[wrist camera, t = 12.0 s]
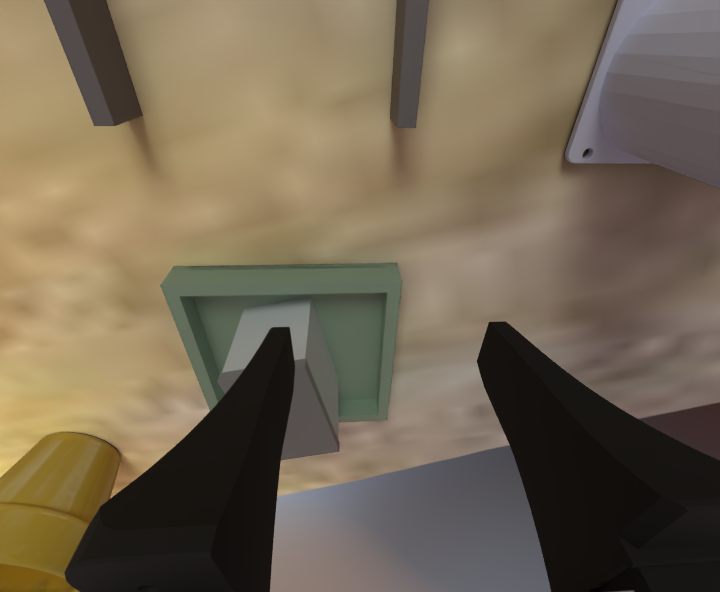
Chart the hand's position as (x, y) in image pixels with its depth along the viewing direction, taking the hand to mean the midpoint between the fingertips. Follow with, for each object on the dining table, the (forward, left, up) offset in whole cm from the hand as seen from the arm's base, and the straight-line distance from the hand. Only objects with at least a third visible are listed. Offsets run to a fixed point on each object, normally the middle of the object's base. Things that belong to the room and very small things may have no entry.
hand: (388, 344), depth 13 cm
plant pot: (+26, +22, -10) cm, 35 cm away
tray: (+5, +9, -9) cm, 14 cm away
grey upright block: (+5, +9, -9) cm, 13 cm away
